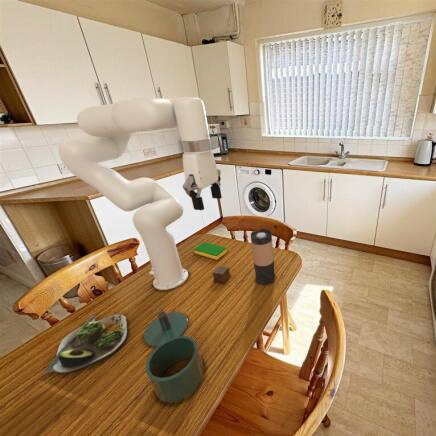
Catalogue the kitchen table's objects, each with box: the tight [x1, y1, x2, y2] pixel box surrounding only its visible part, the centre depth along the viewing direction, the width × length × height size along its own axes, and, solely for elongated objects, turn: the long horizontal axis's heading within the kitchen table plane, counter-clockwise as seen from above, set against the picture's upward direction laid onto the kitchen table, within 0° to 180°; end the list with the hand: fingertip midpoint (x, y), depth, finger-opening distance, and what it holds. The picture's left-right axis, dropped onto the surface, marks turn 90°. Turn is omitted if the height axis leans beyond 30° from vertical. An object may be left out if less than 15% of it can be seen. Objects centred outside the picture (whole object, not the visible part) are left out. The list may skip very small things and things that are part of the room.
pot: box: [145, 335, 205, 404], centre depth 57 cm, size 11×11×8 cm
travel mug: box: [250, 228, 276, 285], centre depth 89 cm, size 8×8×20 cm
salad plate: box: [43, 314, 129, 375], centre depth 69 cm, size 19×18×5 cm
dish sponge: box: [193, 241, 228, 261], centre depth 111 cm, size 7×14×2 cm, turn 64°
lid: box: [143, 310, 189, 348], centre depth 71 cm, size 12×12×7 cm
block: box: [211, 265, 231, 284], centre depth 93 cm, size 4×4×4 cm
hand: (208, 203), depth 74 cm, fingers open, 9 cm apart
